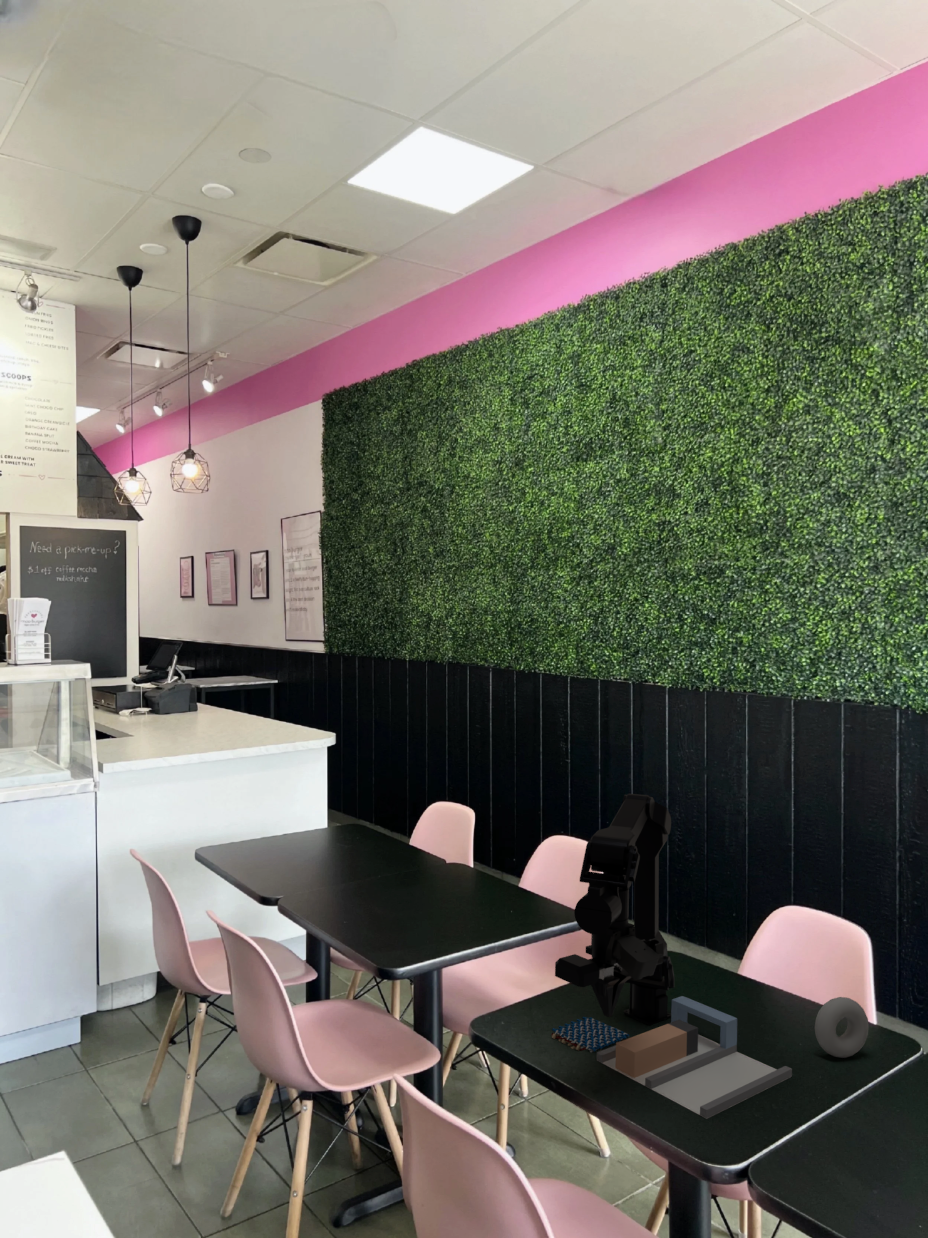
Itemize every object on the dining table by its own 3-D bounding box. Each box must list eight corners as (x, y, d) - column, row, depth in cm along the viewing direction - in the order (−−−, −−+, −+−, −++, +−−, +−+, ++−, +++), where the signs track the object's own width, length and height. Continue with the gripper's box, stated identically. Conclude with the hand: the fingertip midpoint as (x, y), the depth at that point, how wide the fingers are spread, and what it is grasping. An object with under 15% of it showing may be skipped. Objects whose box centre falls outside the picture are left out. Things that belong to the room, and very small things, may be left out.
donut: (859, 1049, 156) (859, 991, 156) (872, 1058, 152) (873, 999, 153) (809, 1055, 153) (810, 996, 153) (822, 1064, 150) (823, 1004, 150)
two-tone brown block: (615, 1068, 145) (616, 1043, 145) (678, 1042, 155) (679, 1019, 155) (634, 1078, 142) (634, 1052, 142) (697, 1051, 151) (698, 1027, 152)
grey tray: (596, 1065, 147) (597, 1025, 148) (681, 1031, 161) (682, 996, 161) (706, 1124, 130) (707, 1079, 130) (791, 1081, 144) (792, 1041, 144)
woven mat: (594, 1063, 149) (594, 1050, 149) (548, 1040, 157) (548, 1028, 157) (634, 1046, 156) (634, 1034, 156) (588, 1025, 164) (588, 1014, 164)
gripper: (607, 941, 129) (604, 1050, 129) (688, 919, 141) (686, 1019, 140) (553, 921, 138) (551, 1023, 137) (634, 902, 149) (632, 996, 149)
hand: (607, 1016), depth 141 cm, fingers closed
